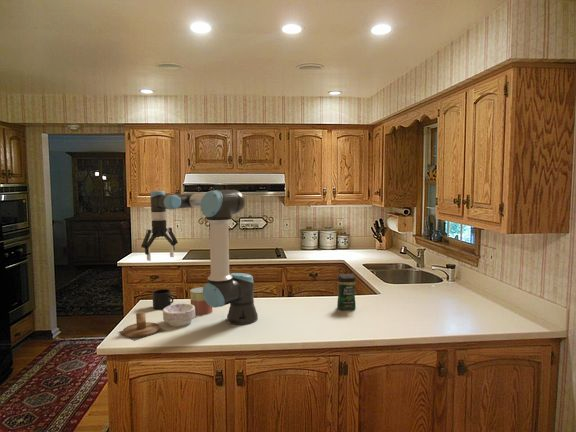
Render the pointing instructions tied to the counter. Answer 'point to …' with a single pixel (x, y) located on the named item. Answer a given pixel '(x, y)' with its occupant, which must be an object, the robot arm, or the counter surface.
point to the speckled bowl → (179, 314)
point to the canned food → (199, 302)
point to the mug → (161, 299)
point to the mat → (141, 337)
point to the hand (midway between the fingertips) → (160, 258)
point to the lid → (141, 327)
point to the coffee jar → (346, 292)
